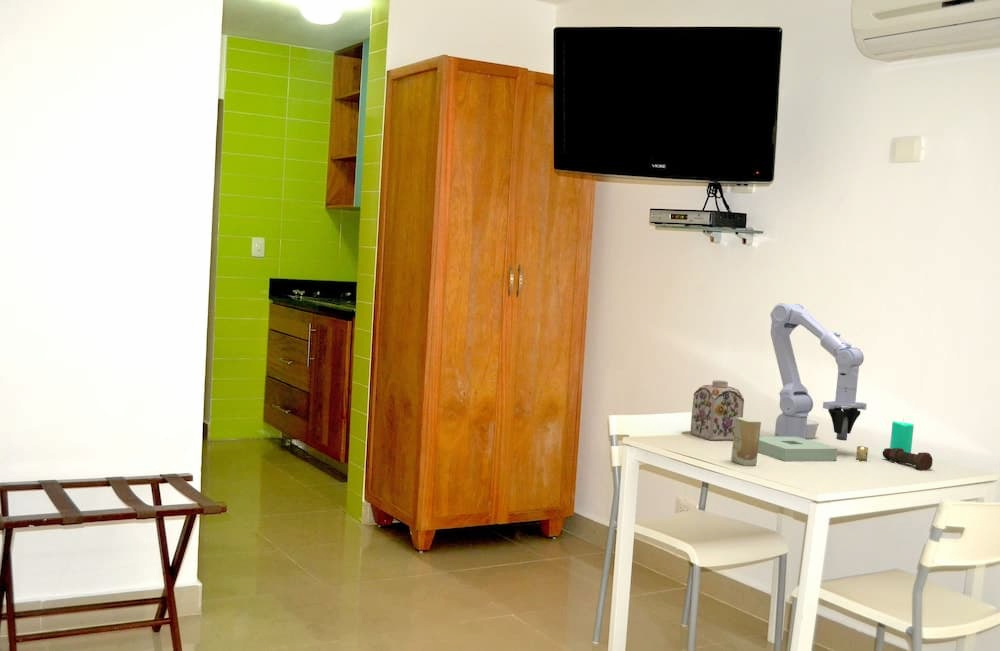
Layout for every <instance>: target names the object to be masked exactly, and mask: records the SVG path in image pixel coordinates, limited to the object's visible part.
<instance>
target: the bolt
mask: <svg viewBox="0 0 1000 651" xmlns="http://www.w3.org/2000/svg"><path fill="white" fill-rule="evenodd" d="M882 457H883V458H884V459H887V460H890V461H892V462H891V463H894V462H896V463H895V464H902V463H903V464H908V465H912V466H915V468H916V470H918V469H919V470H918V471H928V470H927V469H929V470H931V468H932V466H933V457H932V454H930V452H918V453H917V454H916V453H913V452H911V453H908V452H904V450H903V449H902V448H893V449H890V447H888V448H884V449H883V451H882Z"/></svg>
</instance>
